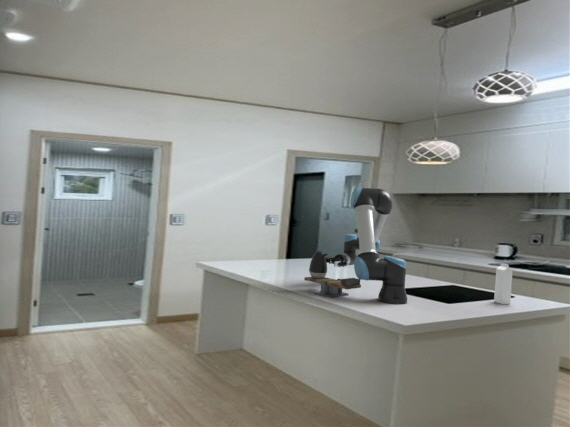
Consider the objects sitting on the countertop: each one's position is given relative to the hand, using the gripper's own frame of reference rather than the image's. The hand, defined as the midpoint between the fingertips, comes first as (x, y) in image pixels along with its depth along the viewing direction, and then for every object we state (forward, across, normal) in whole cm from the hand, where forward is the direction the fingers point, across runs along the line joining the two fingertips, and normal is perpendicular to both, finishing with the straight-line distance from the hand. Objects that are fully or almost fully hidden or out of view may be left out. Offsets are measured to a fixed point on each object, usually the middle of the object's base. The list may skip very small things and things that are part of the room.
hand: (324, 262), depth 272 cm
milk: (-51, -86, -16) cm, 101 cm away
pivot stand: (+8, -10, -16) cm, 20 cm away
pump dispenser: (+6, 0, -8) cm, 10 cm away
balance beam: (+8, -10, -10) cm, 16 cm away
